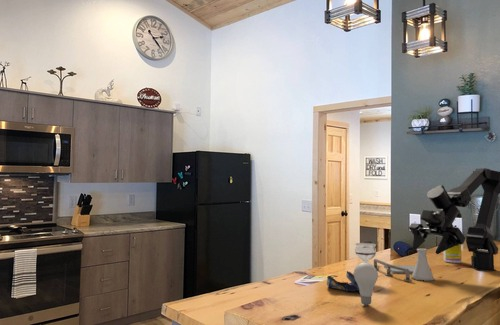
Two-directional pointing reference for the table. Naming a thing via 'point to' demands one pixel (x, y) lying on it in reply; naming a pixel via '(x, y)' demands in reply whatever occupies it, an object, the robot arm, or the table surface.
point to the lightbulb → (365, 281)
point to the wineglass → (365, 251)
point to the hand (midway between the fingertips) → (424, 251)
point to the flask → (422, 267)
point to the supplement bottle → (453, 254)
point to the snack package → (343, 283)
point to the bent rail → (392, 267)
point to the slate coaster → (410, 268)
